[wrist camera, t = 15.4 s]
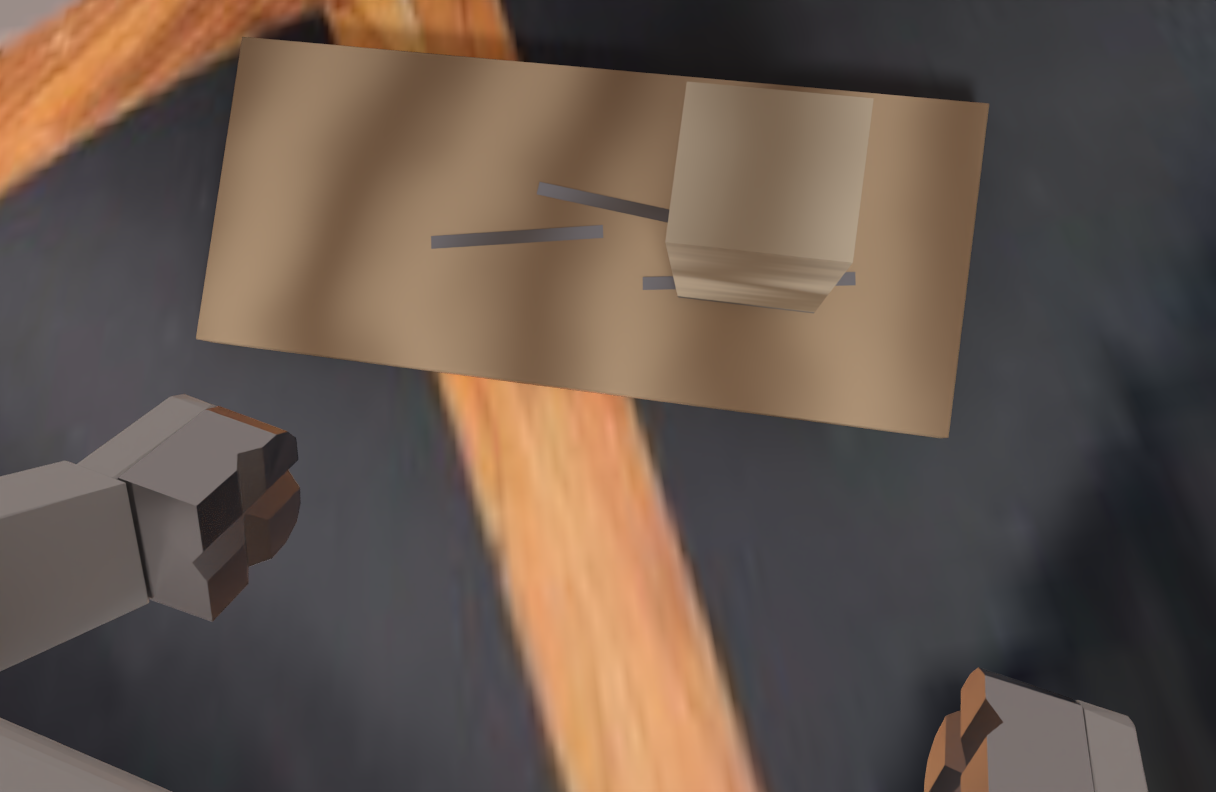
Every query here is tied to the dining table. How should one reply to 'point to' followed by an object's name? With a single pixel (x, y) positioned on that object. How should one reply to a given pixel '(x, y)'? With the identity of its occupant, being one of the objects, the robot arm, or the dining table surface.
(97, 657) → the dining table surface
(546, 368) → the oak board
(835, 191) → the block
